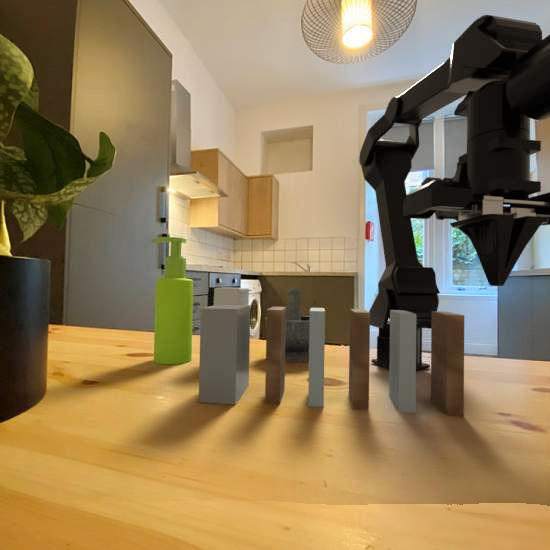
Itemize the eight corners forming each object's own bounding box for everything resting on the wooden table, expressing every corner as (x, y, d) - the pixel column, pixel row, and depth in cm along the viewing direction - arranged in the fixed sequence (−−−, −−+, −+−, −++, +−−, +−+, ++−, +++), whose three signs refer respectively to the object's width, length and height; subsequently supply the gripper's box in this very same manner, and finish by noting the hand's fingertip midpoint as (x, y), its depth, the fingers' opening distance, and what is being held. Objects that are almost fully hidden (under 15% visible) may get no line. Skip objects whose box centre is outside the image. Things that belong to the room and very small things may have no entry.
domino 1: (284, 390, 42) (286, 307, 42) (279, 404, 37) (281, 310, 37) (271, 389, 42) (273, 306, 42) (264, 403, 37) (266, 309, 37)
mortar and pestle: (320, 365, 55) (321, 289, 55) (261, 363, 55) (263, 288, 56) (318, 351, 66) (319, 288, 66) (269, 350, 67) (270, 287, 67)
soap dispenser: (158, 355, 60) (161, 239, 60) (196, 357, 59) (199, 239, 59) (140, 363, 54) (144, 235, 54) (182, 365, 53) (186, 235, 53)
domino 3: (362, 394, 41) (363, 309, 41) (368, 410, 36) (370, 312, 36) (348, 393, 41) (350, 308, 41) (352, 409, 36) (354, 312, 36)
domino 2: (323, 392, 41) (324, 308, 41) (323, 407, 36) (325, 311, 36) (309, 391, 41) (310, 307, 42) (308, 406, 36) (309, 310, 37)
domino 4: (403, 397, 40) (404, 310, 40) (415, 413, 35) (416, 314, 35) (389, 396, 40) (390, 309, 40) (398, 412, 35) (400, 313, 35)
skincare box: (237, 366, 53) (239, 288, 54) (211, 364, 54) (212, 287, 54) (248, 357, 59) (249, 287, 60) (224, 356, 60) (226, 287, 60)
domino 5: (445, 399, 39) (446, 311, 40) (463, 416, 34) (464, 315, 35) (430, 398, 40) (431, 311, 40) (446, 415, 35) (447, 314, 35)
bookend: (248, 385, 43) (250, 305, 44) (235, 404, 36) (237, 309, 37) (217, 383, 44) (219, 304, 44) (198, 402, 37) (200, 308, 37)
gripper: (509, 170, 47) (509, 286, 46) (380, 159, 43) (378, 283, 43) (600, 136, 36) (600, 288, 35) (436, 118, 33) (434, 284, 32)
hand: (496, 285), depth 37 cm, fingers closed
